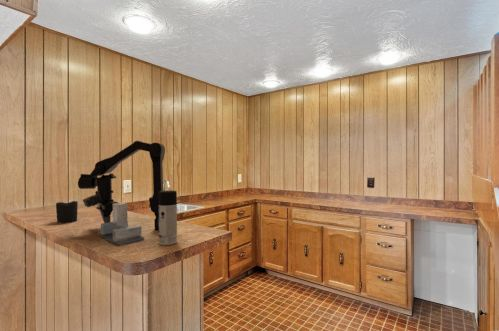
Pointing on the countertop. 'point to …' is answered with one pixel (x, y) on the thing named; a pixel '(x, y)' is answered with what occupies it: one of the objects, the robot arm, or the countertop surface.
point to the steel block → (120, 215)
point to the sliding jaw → (107, 226)
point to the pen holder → (66, 212)
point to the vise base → (109, 236)
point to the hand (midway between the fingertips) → (105, 222)
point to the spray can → (167, 217)
